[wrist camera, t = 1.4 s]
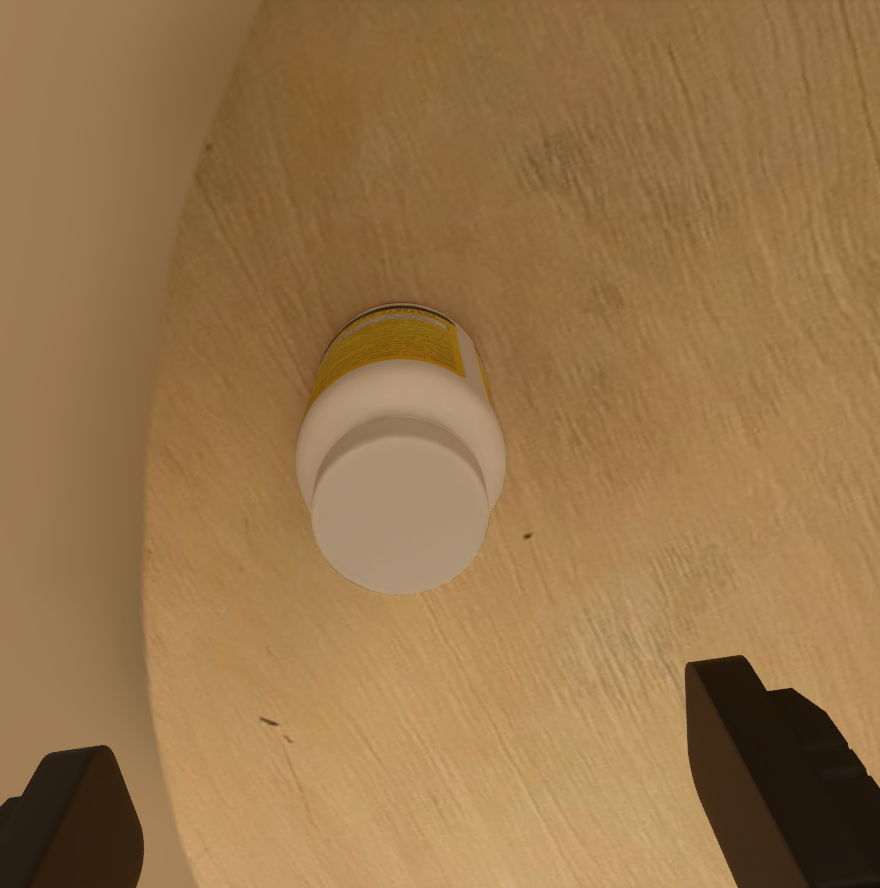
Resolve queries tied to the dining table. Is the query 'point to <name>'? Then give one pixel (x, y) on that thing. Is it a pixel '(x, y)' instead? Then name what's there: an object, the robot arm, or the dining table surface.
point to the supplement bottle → (400, 451)
